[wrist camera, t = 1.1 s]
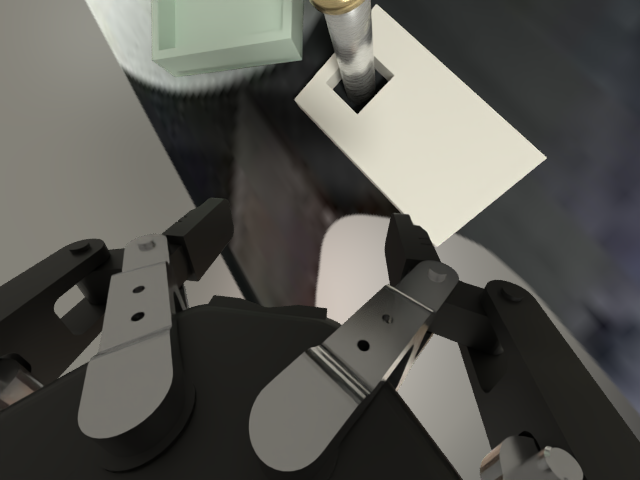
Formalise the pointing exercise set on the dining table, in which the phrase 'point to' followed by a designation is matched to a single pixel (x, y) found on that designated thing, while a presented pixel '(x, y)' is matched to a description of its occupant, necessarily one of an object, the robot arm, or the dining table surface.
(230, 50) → the tray
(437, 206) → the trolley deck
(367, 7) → the pin
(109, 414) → the robot arm
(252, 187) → the dining table surface
